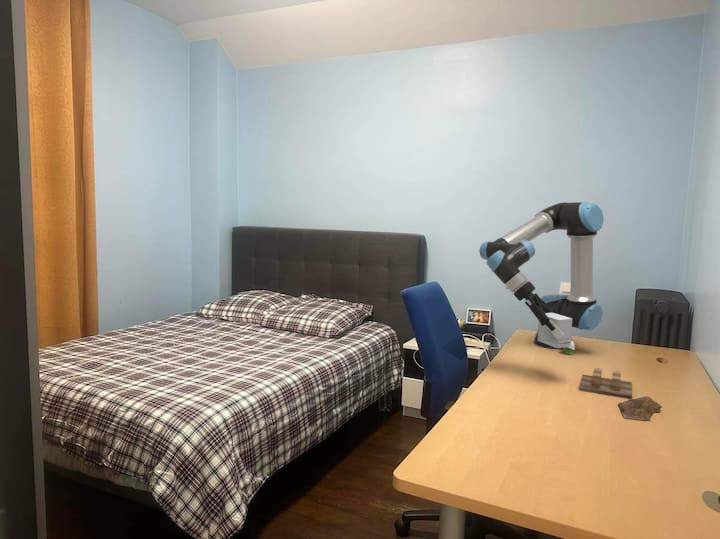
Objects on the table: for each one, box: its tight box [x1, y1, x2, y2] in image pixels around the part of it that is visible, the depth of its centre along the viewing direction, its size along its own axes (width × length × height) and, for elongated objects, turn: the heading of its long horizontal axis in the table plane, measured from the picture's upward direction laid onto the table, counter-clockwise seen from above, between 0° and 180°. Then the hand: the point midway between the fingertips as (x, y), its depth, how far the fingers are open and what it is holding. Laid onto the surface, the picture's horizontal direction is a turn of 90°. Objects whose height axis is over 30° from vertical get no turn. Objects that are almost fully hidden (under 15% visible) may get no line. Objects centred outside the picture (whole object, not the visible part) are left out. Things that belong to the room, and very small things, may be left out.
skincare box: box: [537, 313, 573, 348], centre depth 183 cm, size 10×6×10 cm, turn 21°
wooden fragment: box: [617, 395, 663, 422], centre depth 158 cm, size 26×11×1 cm, turn 135°
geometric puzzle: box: [559, 339, 579, 355], centre depth 218 cm, size 7×7×8 cm
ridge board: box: [578, 367, 633, 400], centre depth 176 cm, size 16×16×5 cm
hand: (562, 333), depth 182 cm, fingers closed on skincare box, 11 cm apart
